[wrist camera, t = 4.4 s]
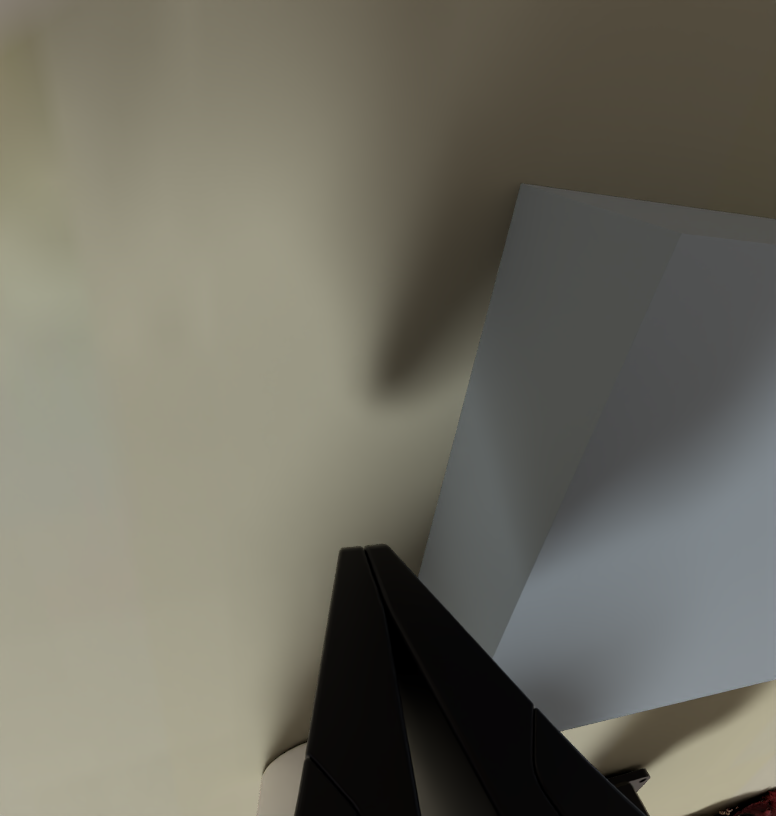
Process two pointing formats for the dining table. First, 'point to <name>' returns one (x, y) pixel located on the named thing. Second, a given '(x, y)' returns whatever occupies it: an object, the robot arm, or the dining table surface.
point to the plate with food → (758, 807)
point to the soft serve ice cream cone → (281, 784)
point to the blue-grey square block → (618, 458)
